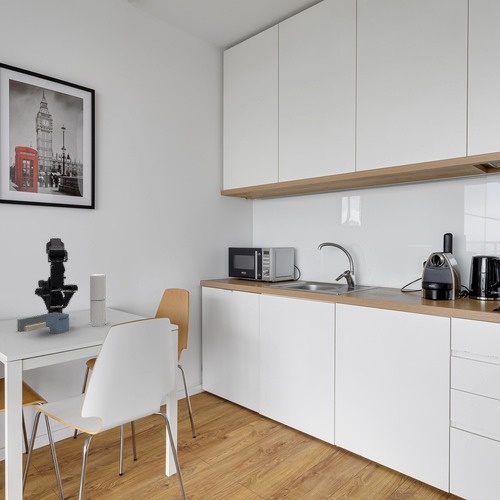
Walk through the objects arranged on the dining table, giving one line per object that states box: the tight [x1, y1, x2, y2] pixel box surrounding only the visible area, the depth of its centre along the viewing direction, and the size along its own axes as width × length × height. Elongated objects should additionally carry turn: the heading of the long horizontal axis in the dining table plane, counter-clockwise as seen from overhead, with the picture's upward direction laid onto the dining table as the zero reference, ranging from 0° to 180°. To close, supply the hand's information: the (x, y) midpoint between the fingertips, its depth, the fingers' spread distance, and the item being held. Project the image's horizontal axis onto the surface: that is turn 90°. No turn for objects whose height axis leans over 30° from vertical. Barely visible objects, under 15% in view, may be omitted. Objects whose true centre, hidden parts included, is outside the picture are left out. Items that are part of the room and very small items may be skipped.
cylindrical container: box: [89, 273, 107, 327], centre depth 195 cm, size 7×7×25 cm
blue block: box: [45, 312, 70, 335], centre depth 181 cm, size 6×8×8 cm
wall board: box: [16, 312, 58, 333], centre depth 189 cm, size 20×4×6 cm, turn 155°
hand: (57, 308), depth 180 cm, fingers open, 9 cm apart
